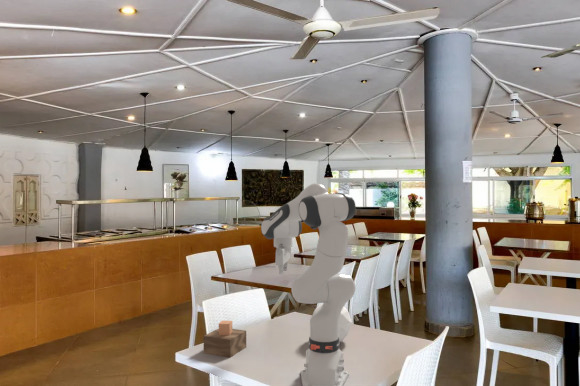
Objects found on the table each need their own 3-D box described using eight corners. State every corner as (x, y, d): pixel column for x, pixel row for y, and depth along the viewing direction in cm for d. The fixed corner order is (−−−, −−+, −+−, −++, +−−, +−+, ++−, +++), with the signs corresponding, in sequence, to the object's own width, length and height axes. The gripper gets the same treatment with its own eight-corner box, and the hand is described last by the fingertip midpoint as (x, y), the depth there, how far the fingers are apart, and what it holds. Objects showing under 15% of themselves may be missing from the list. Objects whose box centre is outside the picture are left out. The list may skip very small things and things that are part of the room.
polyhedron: (337, 352, 211) (357, 317, 216) (337, 351, 193) (360, 312, 198) (304, 330, 216) (325, 296, 222) (302, 327, 198) (324, 290, 203)
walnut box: (230, 358, 187) (230, 339, 187) (203, 353, 193) (203, 335, 193) (246, 347, 200) (246, 330, 200) (220, 344, 206) (220, 327, 206)
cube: (229, 335, 194) (229, 323, 194) (218, 334, 194) (218, 323, 195) (232, 331, 199) (232, 320, 199) (221, 331, 199) (221, 320, 200)
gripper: (285, 245, 194) (285, 276, 194) (292, 241, 214) (293, 268, 214) (272, 245, 195) (272, 275, 195) (280, 240, 215) (280, 268, 215)
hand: (283, 272), depth 204 cm, fingers open, 8 cm apart
